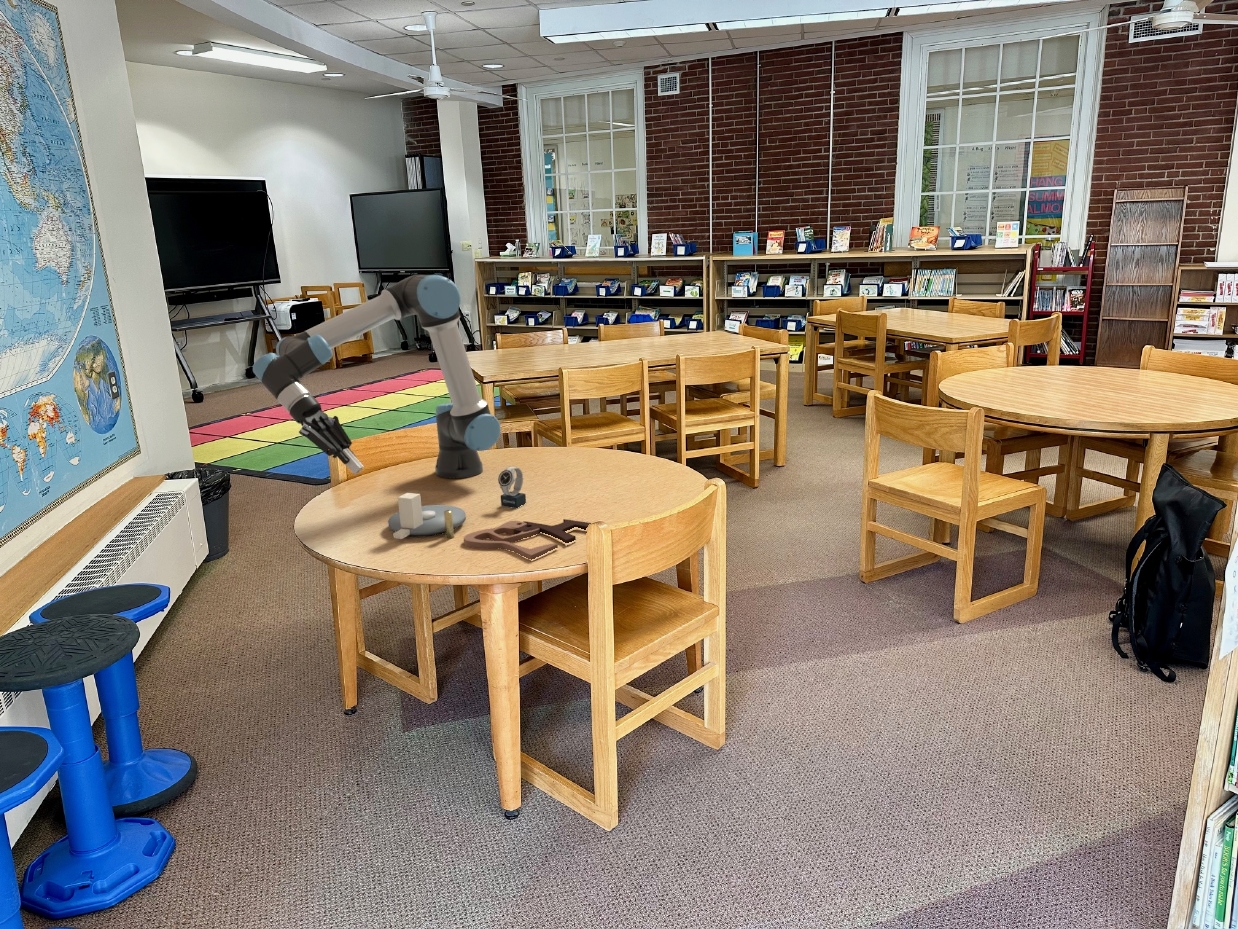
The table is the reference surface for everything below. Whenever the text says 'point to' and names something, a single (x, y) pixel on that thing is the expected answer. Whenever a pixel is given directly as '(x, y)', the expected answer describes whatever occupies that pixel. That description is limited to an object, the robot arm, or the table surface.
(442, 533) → the turntable base
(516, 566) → the table surface
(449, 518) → the gold domed cylinder
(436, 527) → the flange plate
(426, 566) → the table surface
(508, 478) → the watch
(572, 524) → the wood carving
